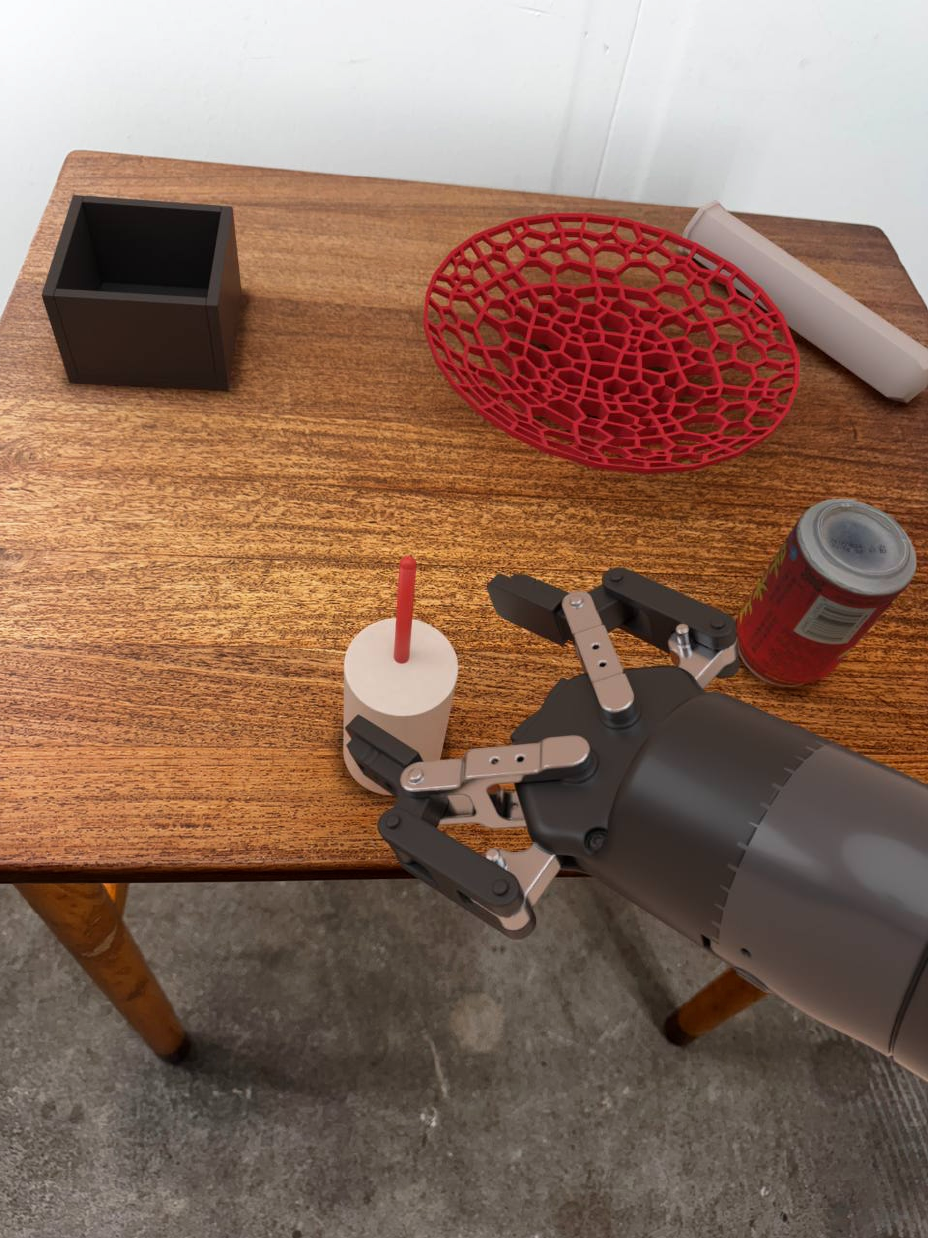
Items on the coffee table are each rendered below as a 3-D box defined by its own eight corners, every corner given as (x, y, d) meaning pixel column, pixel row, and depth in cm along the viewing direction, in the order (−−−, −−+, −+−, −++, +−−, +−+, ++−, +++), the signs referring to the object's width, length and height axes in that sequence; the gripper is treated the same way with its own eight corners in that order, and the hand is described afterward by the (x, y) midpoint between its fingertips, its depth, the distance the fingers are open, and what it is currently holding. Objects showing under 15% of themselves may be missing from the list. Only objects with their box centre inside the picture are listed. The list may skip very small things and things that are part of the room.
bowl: (788, 546, 67) (817, 501, 63) (390, 478, 67) (394, 428, 63) (763, 295, 84) (786, 246, 80) (444, 238, 83) (450, 186, 79)
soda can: (841, 698, 61) (941, 590, 50) (737, 694, 60) (817, 583, 50) (816, 609, 64) (904, 492, 54) (718, 604, 64) (789, 485, 54)
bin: (69, 383, 68) (40, 294, 62) (95, 283, 75) (72, 194, 68) (228, 391, 70) (217, 305, 63) (241, 292, 76) (232, 205, 70)
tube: (958, 355, 76) (728, 199, 84) (938, 363, 72) (700, 199, 81) (915, 409, 79) (698, 253, 88) (893, 419, 76) (669, 256, 84)
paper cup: (342, 795, 53) (342, 649, 40) (344, 706, 56) (345, 542, 43) (442, 795, 54) (476, 651, 40) (439, 707, 57) (469, 546, 44)
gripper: (911, 622, 28) (515, 486, 38) (643, 1005, 23) (264, 729, 33) (898, 760, 33) (553, 608, 43) (677, 1098, 28) (341, 836, 38)
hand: (429, 660), depth 38 cm, fingers open, 8 cm apart
